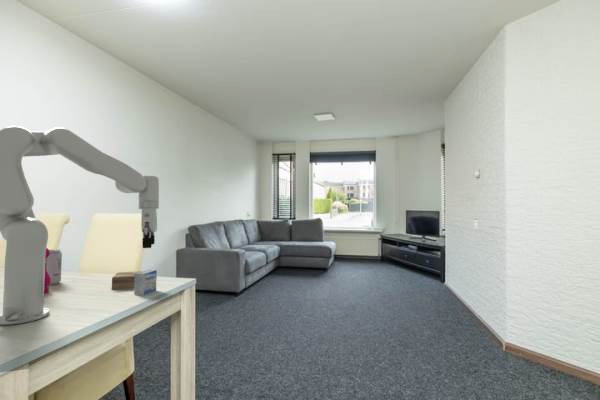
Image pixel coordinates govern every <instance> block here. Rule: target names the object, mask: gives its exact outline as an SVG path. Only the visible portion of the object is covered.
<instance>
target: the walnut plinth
mask: <svg viewBox="0 0 600 400" xmlns="http://www.w3.org/2000/svg"><path fill="white" fill-rule="evenodd" d="M140 272H142V271H141V270H140V271H120V272H119V271H118V272H117V273H116V274H115V275H113V276H112V278H111V290H112V291H113V290H128V289H134V285H135V274H136V273H140Z"/></svg>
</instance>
